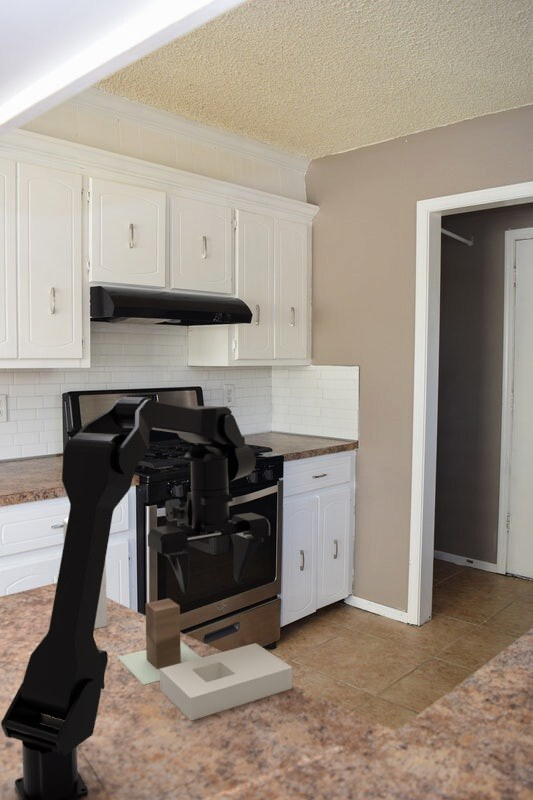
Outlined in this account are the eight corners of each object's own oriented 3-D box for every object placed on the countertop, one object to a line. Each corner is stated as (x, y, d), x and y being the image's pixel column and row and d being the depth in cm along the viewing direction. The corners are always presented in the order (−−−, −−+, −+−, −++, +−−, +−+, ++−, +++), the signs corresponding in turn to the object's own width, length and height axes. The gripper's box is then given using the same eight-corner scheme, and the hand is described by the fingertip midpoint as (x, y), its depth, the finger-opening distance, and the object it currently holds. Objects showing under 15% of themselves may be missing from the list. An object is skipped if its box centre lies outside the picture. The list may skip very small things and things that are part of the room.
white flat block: (292, 691, 97) (292, 667, 97) (190, 724, 89) (190, 697, 88) (256, 665, 105) (255, 643, 105) (160, 692, 97) (159, 668, 97)
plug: (180, 662, 105) (179, 605, 105) (156, 669, 103) (155, 611, 103) (170, 653, 109) (169, 598, 108) (146, 659, 106) (145, 603, 106)
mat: (211, 669, 104) (211, 665, 104) (143, 688, 98) (143, 684, 98) (180, 644, 113) (180, 641, 113) (117, 660, 108) (117, 656, 108)
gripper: (236, 473, 116) (237, 563, 117) (132, 486, 106) (135, 583, 107) (271, 483, 107) (272, 580, 108) (162, 498, 97) (164, 605, 98)
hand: (211, 586), depth 106 cm, fingers open, 9 cm apart
